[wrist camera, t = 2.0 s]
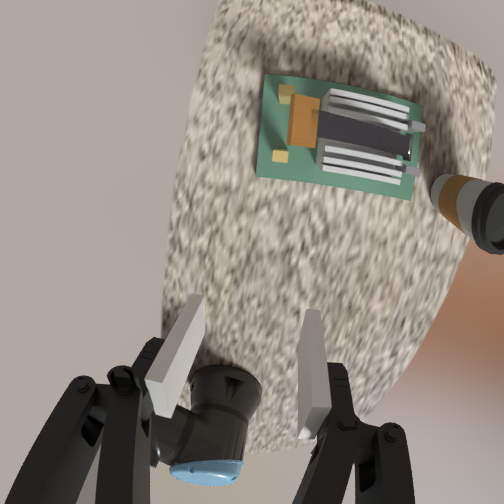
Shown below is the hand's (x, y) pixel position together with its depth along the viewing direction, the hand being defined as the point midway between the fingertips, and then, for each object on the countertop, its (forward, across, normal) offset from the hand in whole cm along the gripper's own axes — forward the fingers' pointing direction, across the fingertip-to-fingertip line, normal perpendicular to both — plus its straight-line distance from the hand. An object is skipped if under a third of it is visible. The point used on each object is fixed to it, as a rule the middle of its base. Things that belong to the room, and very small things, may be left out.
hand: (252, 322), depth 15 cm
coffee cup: (+25, +26, +7) cm, 37 cm away
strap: (+15, +8, +12) cm, 20 cm away
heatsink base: (+25, +8, +12) cm, 29 cm away
